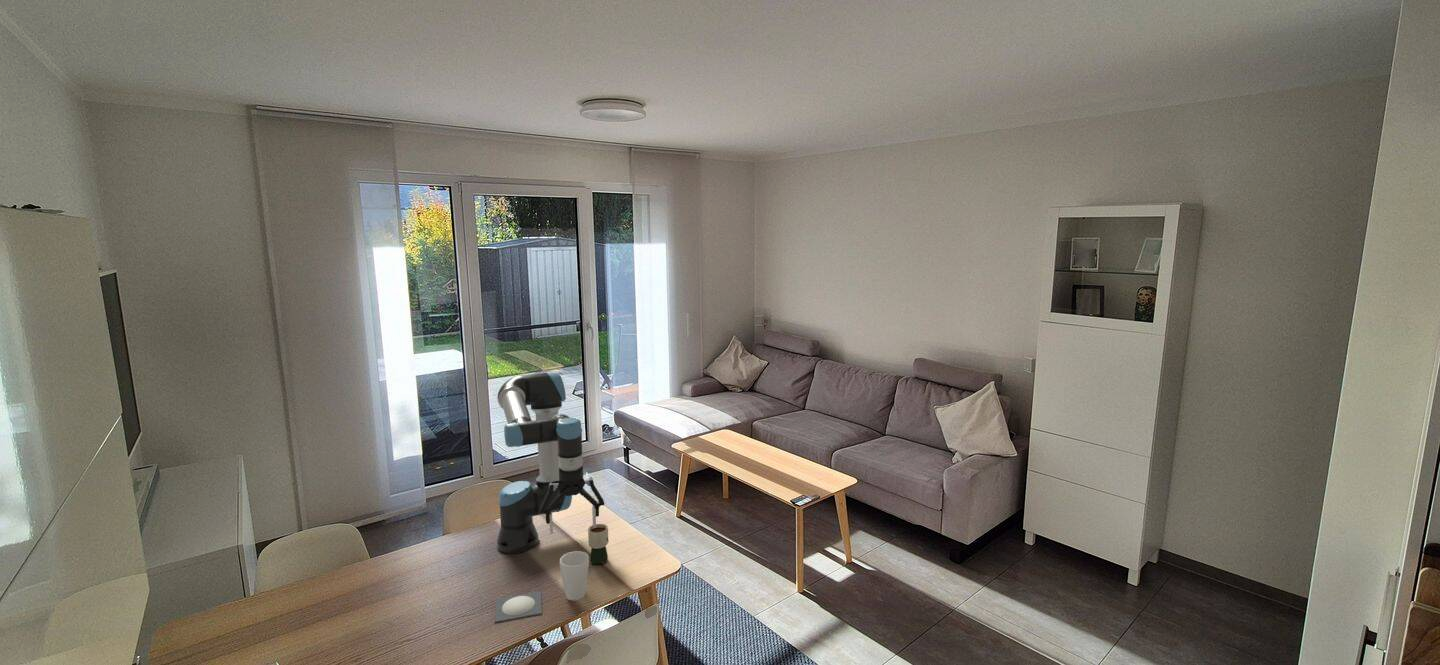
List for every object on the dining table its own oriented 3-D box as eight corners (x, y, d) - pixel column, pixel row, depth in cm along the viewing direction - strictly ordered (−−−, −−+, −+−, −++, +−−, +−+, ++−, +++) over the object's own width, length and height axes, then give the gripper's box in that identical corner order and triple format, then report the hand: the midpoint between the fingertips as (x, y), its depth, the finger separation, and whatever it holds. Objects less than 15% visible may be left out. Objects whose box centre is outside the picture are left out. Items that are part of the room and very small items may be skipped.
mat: (495, 599, 197) (495, 598, 197) (540, 592, 202) (540, 590, 202) (494, 622, 186) (494, 621, 186) (542, 613, 190) (541, 612, 190)
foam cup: (582, 605, 195) (581, 568, 193) (556, 601, 197) (554, 564, 194) (594, 588, 204) (593, 552, 202) (569, 584, 206) (567, 549, 204)
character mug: (613, 565, 217) (612, 532, 215) (594, 571, 214) (593, 537, 212) (603, 551, 227) (602, 519, 224) (585, 556, 223) (584, 523, 221)
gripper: (530, 476, 185) (533, 540, 189) (611, 466, 193) (613, 528, 196) (529, 467, 192) (532, 529, 196) (608, 458, 200) (610, 517, 203)
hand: (573, 528), depth 196 cm, fingers open, 13 cm apart
